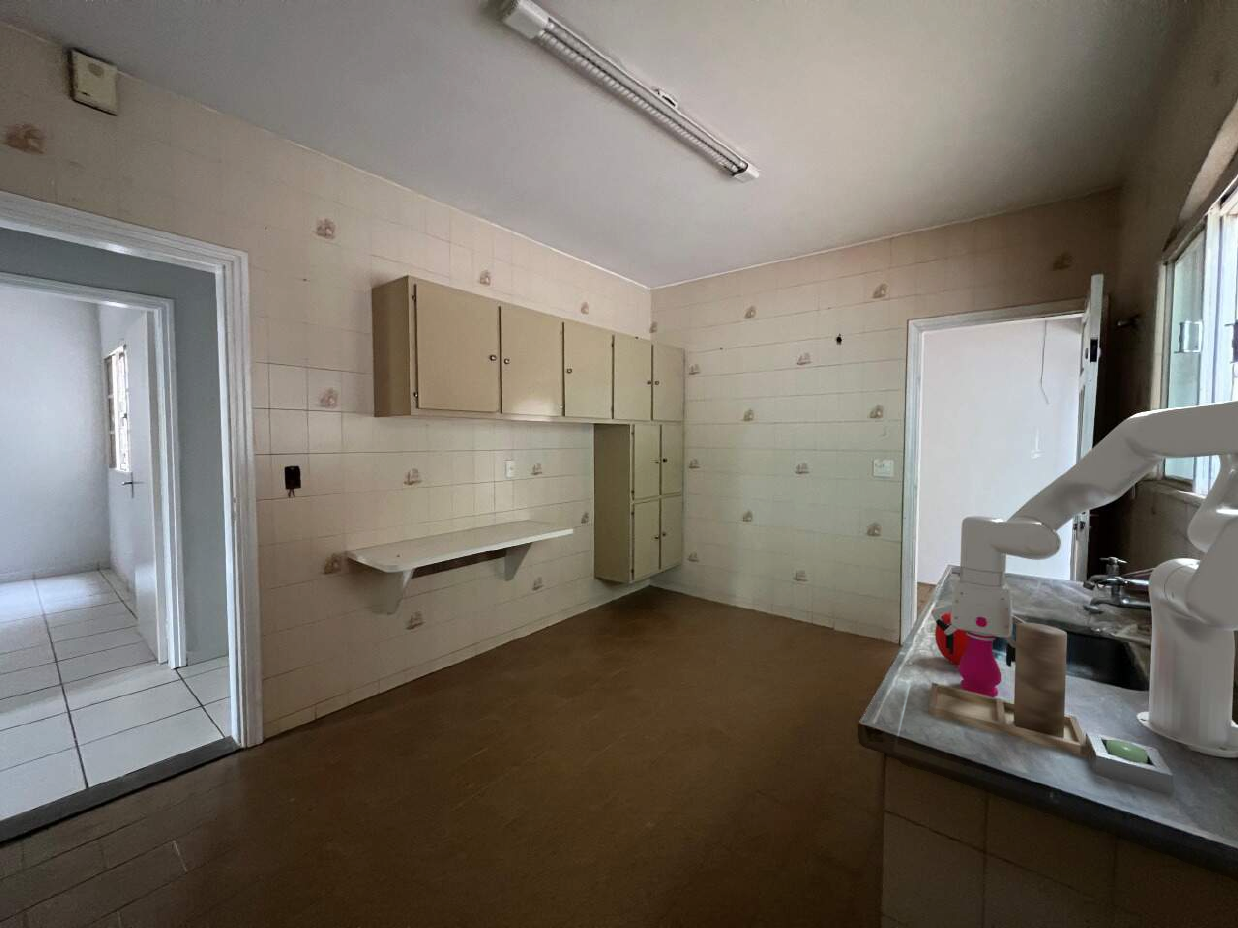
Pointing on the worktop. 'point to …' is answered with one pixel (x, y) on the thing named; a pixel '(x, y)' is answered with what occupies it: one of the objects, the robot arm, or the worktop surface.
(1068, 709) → the worktop surface
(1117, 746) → the button
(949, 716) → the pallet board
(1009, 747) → the worktop surface
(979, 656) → the pepper mill
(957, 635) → the tomato
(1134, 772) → the button box
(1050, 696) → the seated billet
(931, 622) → the worktop surface
